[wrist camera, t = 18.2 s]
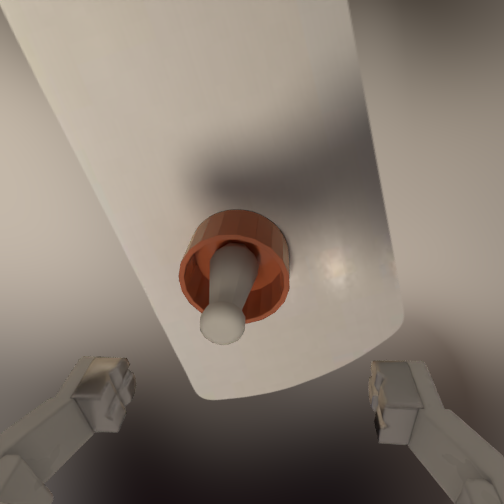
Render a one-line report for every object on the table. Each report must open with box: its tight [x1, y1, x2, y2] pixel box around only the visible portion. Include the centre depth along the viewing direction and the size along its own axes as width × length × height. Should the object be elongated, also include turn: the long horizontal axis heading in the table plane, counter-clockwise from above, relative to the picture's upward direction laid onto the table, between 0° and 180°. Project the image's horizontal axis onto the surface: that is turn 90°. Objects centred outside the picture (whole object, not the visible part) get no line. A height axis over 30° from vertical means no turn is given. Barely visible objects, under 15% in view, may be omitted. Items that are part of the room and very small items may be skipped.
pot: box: [179, 210, 289, 324], centre depth 41 cm, size 12×12×6 cm
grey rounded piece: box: [200, 243, 259, 345], centre depth 37 cm, size 6×6×13 cm
